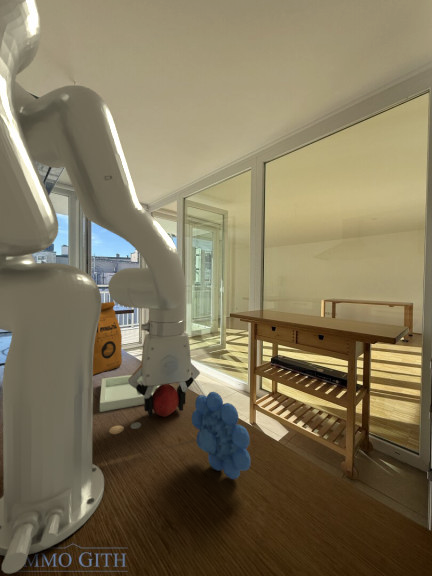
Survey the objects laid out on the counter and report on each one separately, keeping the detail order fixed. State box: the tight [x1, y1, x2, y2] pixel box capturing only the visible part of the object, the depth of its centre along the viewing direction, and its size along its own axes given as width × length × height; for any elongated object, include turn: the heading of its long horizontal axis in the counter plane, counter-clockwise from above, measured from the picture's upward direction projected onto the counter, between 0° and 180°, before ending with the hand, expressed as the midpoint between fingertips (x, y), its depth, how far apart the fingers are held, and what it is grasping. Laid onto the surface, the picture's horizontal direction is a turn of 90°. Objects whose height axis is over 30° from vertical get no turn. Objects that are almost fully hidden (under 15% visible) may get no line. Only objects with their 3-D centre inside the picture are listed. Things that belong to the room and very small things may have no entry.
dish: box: [99, 374, 160, 413], centre depth 62 cm, size 14×14×2 cm
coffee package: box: [93, 301, 123, 375], centre depth 78 cm, size 10×12×22 cm
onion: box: [152, 384, 179, 418], centre depth 53 cm, size 6×6×8 cm
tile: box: [108, 422, 142, 435], centre depth 48 cm, size 6×8×1 cm
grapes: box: [191, 391, 252, 480], centre depth 38 cm, size 12×7×12 cm, turn 49°
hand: (165, 409), depth 53 cm, fingers closed on onion, 5 cm apart
